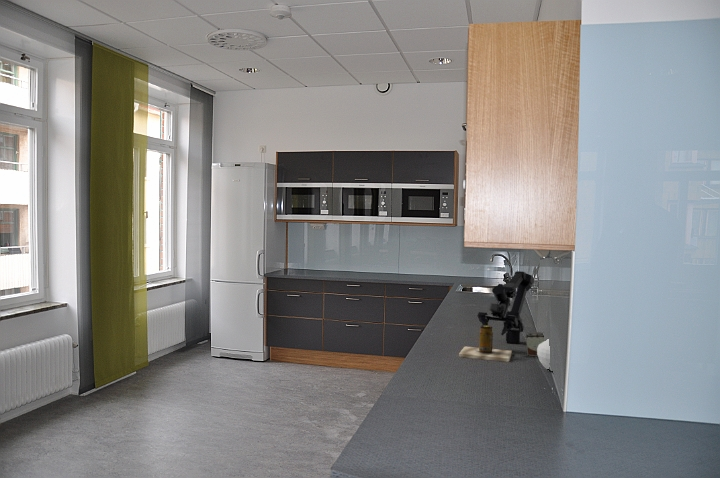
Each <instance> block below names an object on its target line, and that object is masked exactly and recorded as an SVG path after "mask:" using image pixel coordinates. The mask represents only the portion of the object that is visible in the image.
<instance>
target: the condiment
mask: <svg viewBox="0 0 720 478" xmlns="http://www.w3.org/2000/svg"><path fill="white" fill-rule="evenodd" d="M479 329H480V331H479V334H478V335H479V336H478V337H479V339H478V340H479V341H478V342H479V343H478V348H479V350H475V351H477V352H480V353H484V354H497V352H494V351H492V349H493V341H494V339H493V337H494V336H493V335H494V332H493V326H492V325H489V324H488V325H482V324H481V325H480V328H479Z"/></svg>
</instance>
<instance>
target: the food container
mask: <svg viewBox="0 0 720 478" xmlns="http://www.w3.org/2000/svg"><path fill="white" fill-rule="evenodd" d="M543 333H544V332H541V331H540V332H539V331H529V332H526V333H525V335H524V338H525V340H526V341H525V342H526V354H527V355H526V356H528V355H529V356H533V357H538V355H537V348H538V345H539V344H541V343H542V342H544V335H543ZM529 356H528V357H529Z"/></svg>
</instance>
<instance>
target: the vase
mask: <svg viewBox="0 0 720 478" xmlns="http://www.w3.org/2000/svg"><path fill="white" fill-rule="evenodd" d="M537 355H538V356H537V357H538V360H539V362H540V364H541V365H542V366H543V367H544V368H545V369H546V370H547V369H549V367H550V365H549V363H550V346H549V339H547V340H546V341H544V342H542V343H541V344H539V345H538V348H537Z"/></svg>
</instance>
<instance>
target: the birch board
mask: <svg viewBox="0 0 720 478" xmlns="http://www.w3.org/2000/svg"><path fill="white" fill-rule="evenodd" d="M475 350H479V347H473V346H463V348H462V349H461V350H460V352H459V353H458V357H459V358H467V359H475V360H484V361H485V360H486V361H487V360H488V361H496V362H506V363H507V362H510V360H511V357H512V351H513V350H506V349H497V348H496V349H495V348H492V351H494V352H497V354H484V353H480V352H477V351H475Z"/></svg>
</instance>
